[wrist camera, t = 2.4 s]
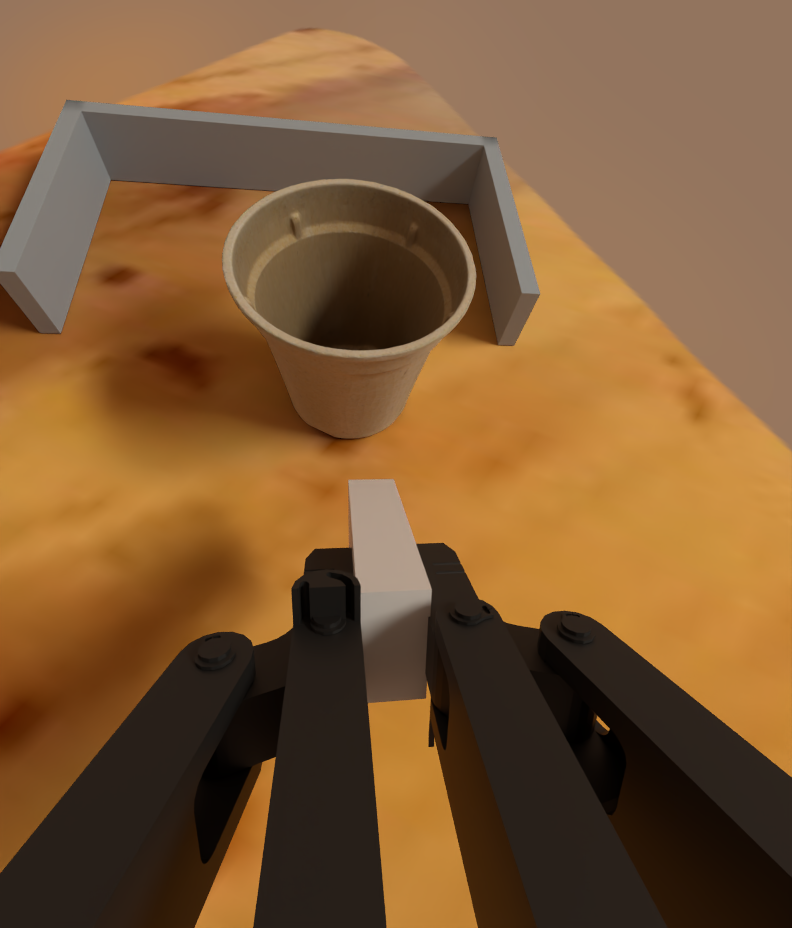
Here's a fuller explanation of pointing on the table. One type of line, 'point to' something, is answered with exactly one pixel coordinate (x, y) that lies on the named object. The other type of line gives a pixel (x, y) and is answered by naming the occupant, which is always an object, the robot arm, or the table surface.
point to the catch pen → (248, 167)
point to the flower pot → (348, 294)
